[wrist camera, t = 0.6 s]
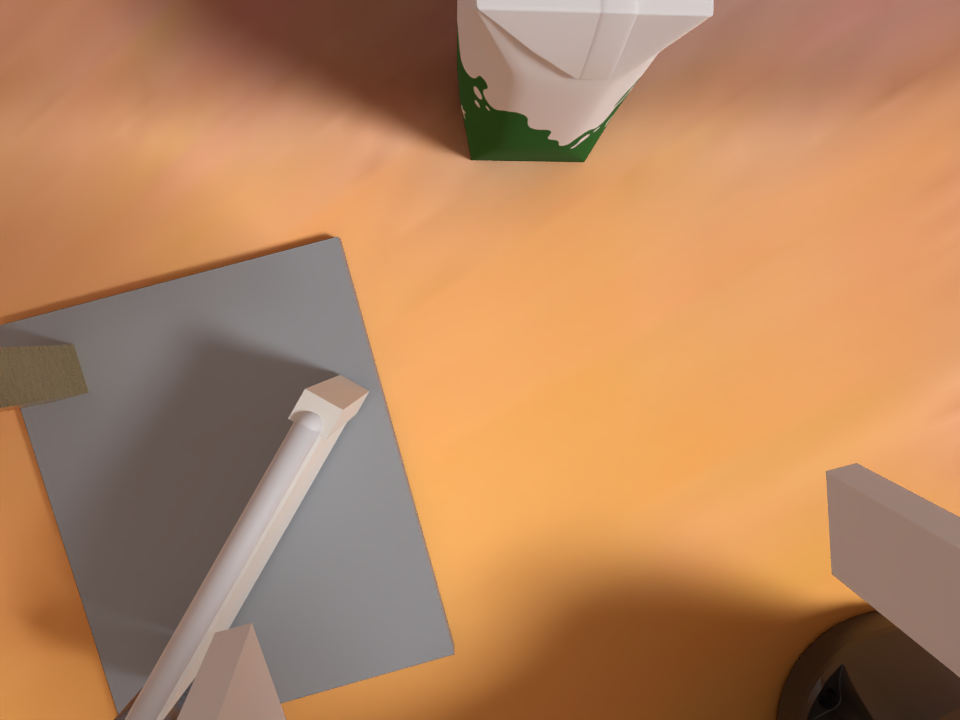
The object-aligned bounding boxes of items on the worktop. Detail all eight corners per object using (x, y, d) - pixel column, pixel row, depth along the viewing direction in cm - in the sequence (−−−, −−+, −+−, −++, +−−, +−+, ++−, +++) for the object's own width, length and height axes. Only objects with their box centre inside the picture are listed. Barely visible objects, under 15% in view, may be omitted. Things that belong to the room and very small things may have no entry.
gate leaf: (223, 645, 36) (145, 752, 27) (194, 630, 36) (106, 732, 27) (369, 390, 36) (340, 412, 27) (340, 374, 35) (301, 390, 26)
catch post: (98, 390, 36) (-37, 414, 26) (60, 401, 36) (-89, 428, 26) (84, 344, 36) (-58, 349, 26) (46, 354, 36) (-111, 363, 26)
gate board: (454, 645, 38) (454, 654, 37) (137, 735, 38) (128, 746, 37) (340, 239, 36) (337, 236, 35) (6, 326, 36) (-6, 327, 35)
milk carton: (456, 31, 36) (458, -338, 16) (602, 34, 36) (780, -322, 17) (456, 175, 37) (457, -9, 17) (600, 178, 37) (770, 0, 17)
